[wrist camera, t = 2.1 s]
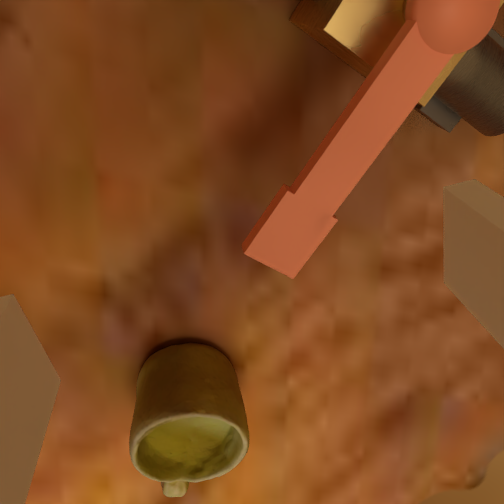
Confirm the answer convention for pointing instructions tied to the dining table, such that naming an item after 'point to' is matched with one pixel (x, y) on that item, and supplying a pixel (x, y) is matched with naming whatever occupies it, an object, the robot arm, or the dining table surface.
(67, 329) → the dining table surface
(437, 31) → the lever
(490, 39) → the valve pipe
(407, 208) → the dining table surface
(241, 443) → the mug
